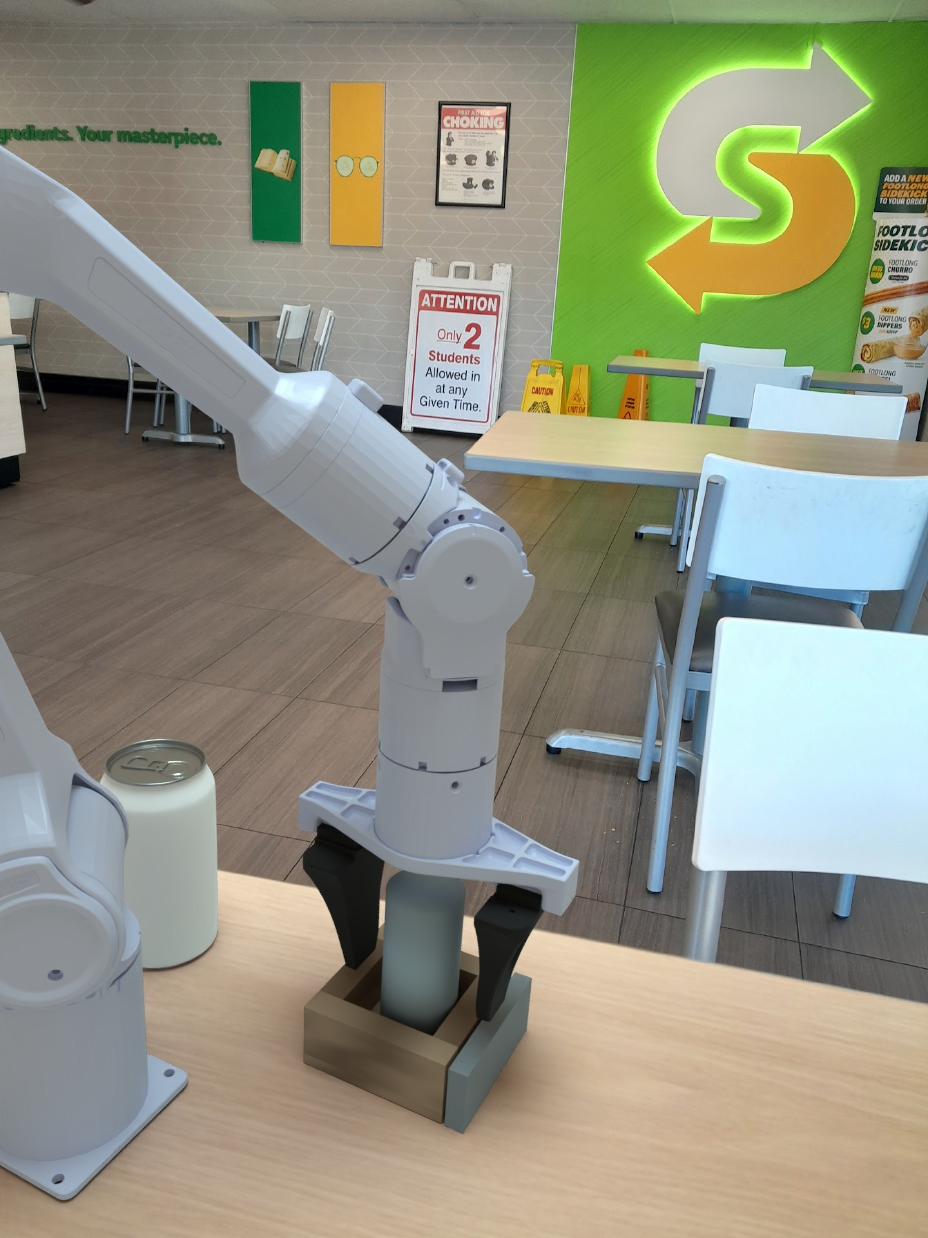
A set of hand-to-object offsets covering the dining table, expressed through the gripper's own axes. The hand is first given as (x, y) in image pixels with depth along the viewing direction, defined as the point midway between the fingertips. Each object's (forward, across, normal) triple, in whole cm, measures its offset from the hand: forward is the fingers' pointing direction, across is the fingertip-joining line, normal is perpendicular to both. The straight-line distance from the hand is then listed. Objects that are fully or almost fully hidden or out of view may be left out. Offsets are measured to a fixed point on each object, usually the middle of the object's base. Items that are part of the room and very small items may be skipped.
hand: (423, 982), depth 51 cm
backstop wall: (+4, -4, 0) cm, 6 cm away
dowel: (+3, 0, 0) cm, 4 cm away
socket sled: (+4, +1, 0) cm, 4 cm away
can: (+4, +18, 0) cm, 18 cm away
